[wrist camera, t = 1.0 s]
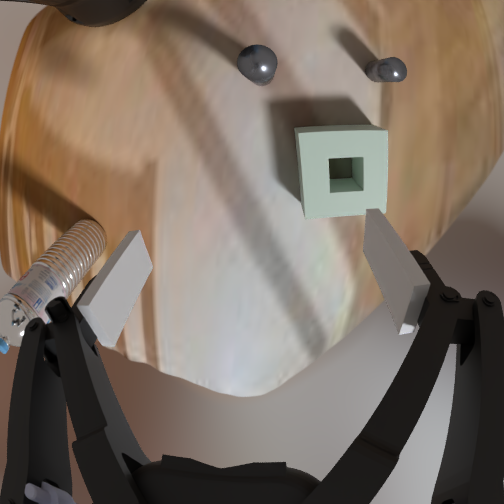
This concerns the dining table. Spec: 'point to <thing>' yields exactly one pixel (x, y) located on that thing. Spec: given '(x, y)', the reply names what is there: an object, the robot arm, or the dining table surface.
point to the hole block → (344, 189)
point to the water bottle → (50, 279)
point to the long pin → (257, 64)
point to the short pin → (386, 70)
